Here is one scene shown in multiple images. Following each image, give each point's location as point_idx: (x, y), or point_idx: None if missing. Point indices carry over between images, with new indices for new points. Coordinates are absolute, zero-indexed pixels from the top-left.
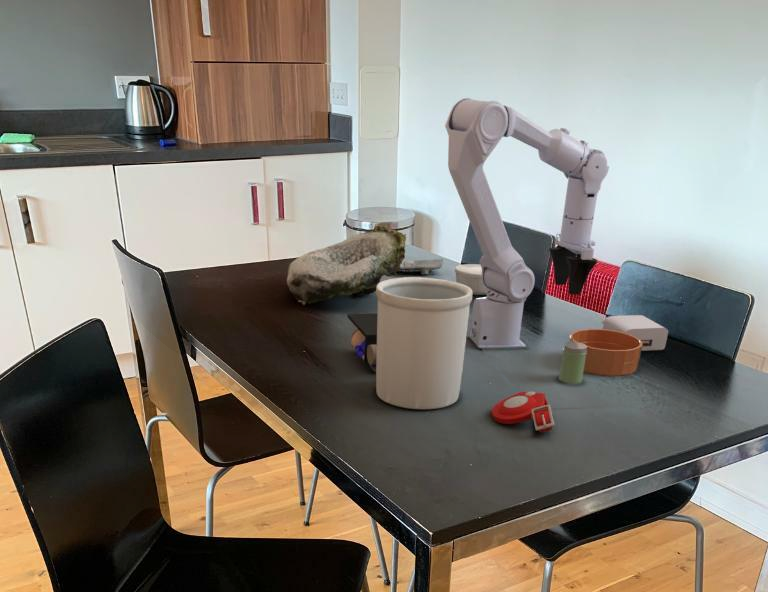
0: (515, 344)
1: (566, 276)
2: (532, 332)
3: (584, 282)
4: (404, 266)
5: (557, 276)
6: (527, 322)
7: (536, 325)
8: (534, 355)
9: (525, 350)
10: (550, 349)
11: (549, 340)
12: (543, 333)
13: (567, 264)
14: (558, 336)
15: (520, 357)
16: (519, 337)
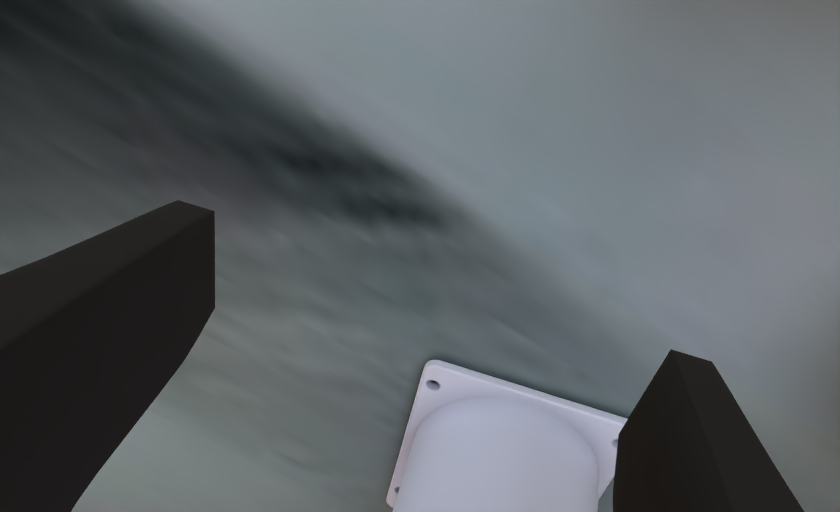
0: (597, 455)
1: (148, 277)
2: (386, 225)
3: (798, 509)
4: None
5: (155, 373)
6: (181, 130)
7: (249, 114)
8: None
9: None
10: (720, 327)
11: (566, 230)
12: (422, 177)
13: (13, 416)
14: (513, 124)
15: None
16: (567, 443)
